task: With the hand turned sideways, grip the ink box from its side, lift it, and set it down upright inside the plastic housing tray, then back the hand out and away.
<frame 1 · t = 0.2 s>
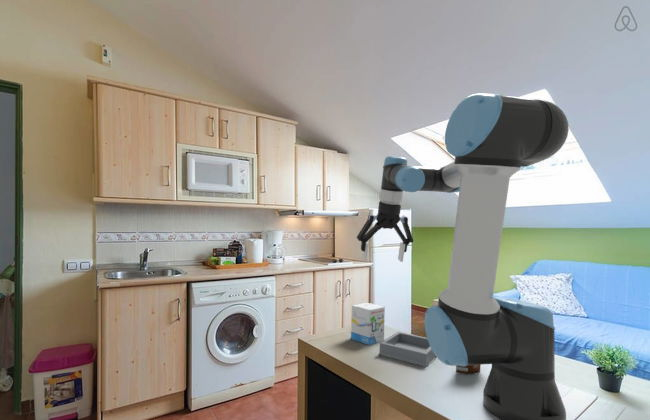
hand: (382, 260, 117), 27 cm above the table, tool tilted 15°, fingers open, 13 cm apart
housing tray: (410, 353, 102), on the table
food container: (472, 370, 90), on the table
ink box: (367, 340, 114), on the table
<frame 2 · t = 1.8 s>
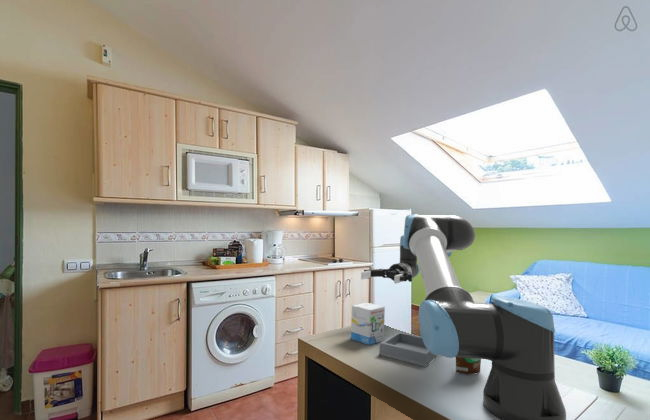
hand: (378, 277, 122), 20 cm above the table, tool horizontal, fingers open, 13 cm apart
nothing on the table moved.
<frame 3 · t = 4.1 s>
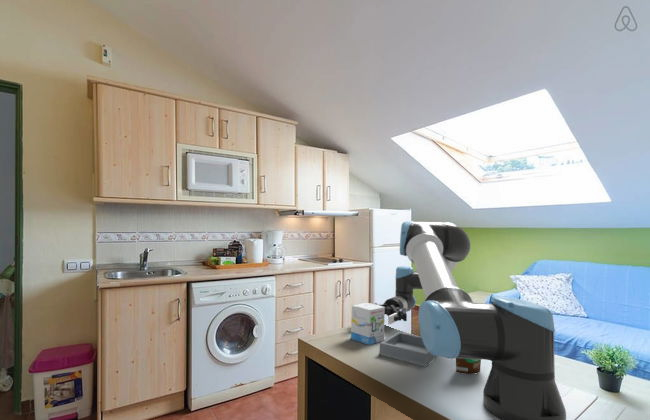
hand: (371, 317, 118), 7 cm above the table, tool horizontal, fingers open, 13 cm apart
nothing on the table moved.
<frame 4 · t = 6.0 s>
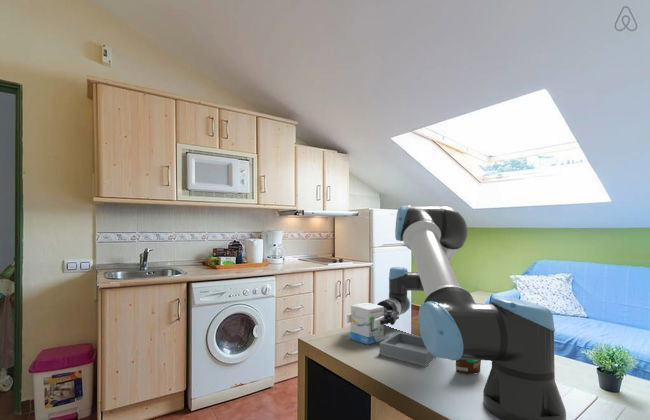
hand: (361, 321, 111), 7 cm above the table, tool horizontal, fingers closed on ink box, 10 cm apart
ink box: (366, 339, 114), on the table, touching gripper
everything else where it was.
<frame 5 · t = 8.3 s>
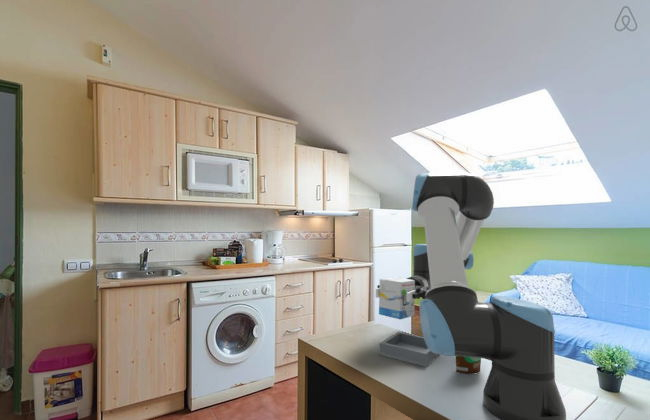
hand: (391, 295, 104), 18 cm above the table, tool horizontal, fingers closed on ink box, 10 cm apart
ink box: (396, 315, 107), point 10 cm above the table, touching gripper
everything else where it was.
when the fingers open (9 cm above the table, at t = 10.9 s): ink box drops 1 cm, resting on housing tray.
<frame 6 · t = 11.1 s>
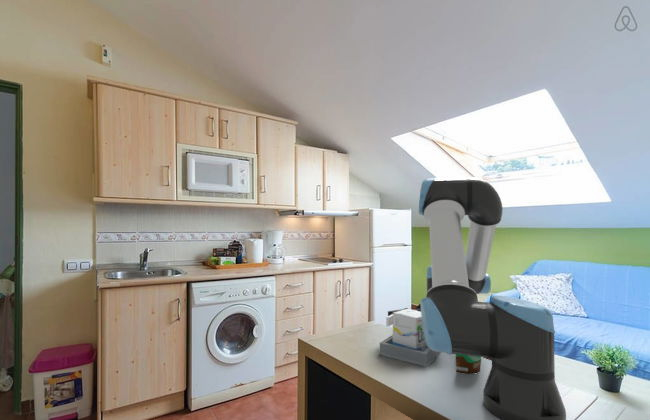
hand: (406, 325, 99), 9 cm above the table, tool horizontal, fingers open, 12 cm apart
ink box: (410, 351, 102), point 1 cm above the table, touching housing tray
everything else where it was.
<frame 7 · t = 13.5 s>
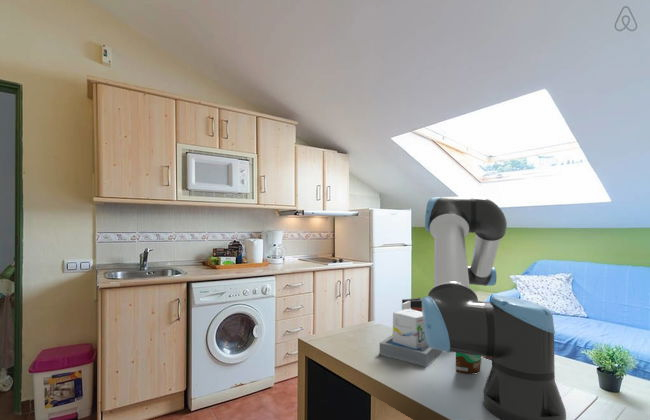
hand: (422, 310, 110), 11 cm above the table, tool horizontal, fingers open, 13 cm apart
nothing on the table moved.
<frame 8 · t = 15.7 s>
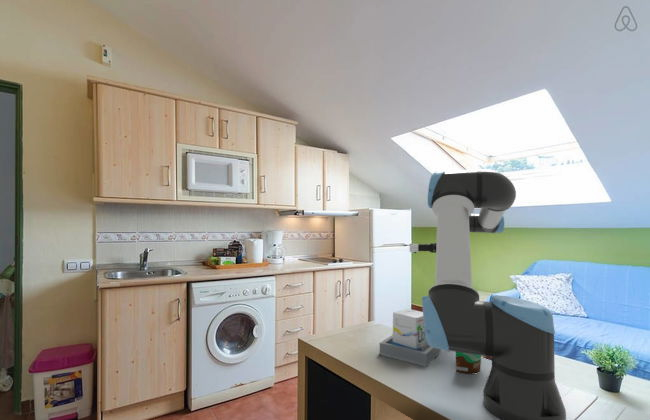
hand: (430, 249, 110), 32 cm above the table, tool horizontal, fingers open, 13 cm apart
nothing on the table moved.
at the end: ink box 0.1 cm off-centre on the housing tray, point 0.6 cm above the housing tray's base; ink box tilted 0°; the gripper is holding nothing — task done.
